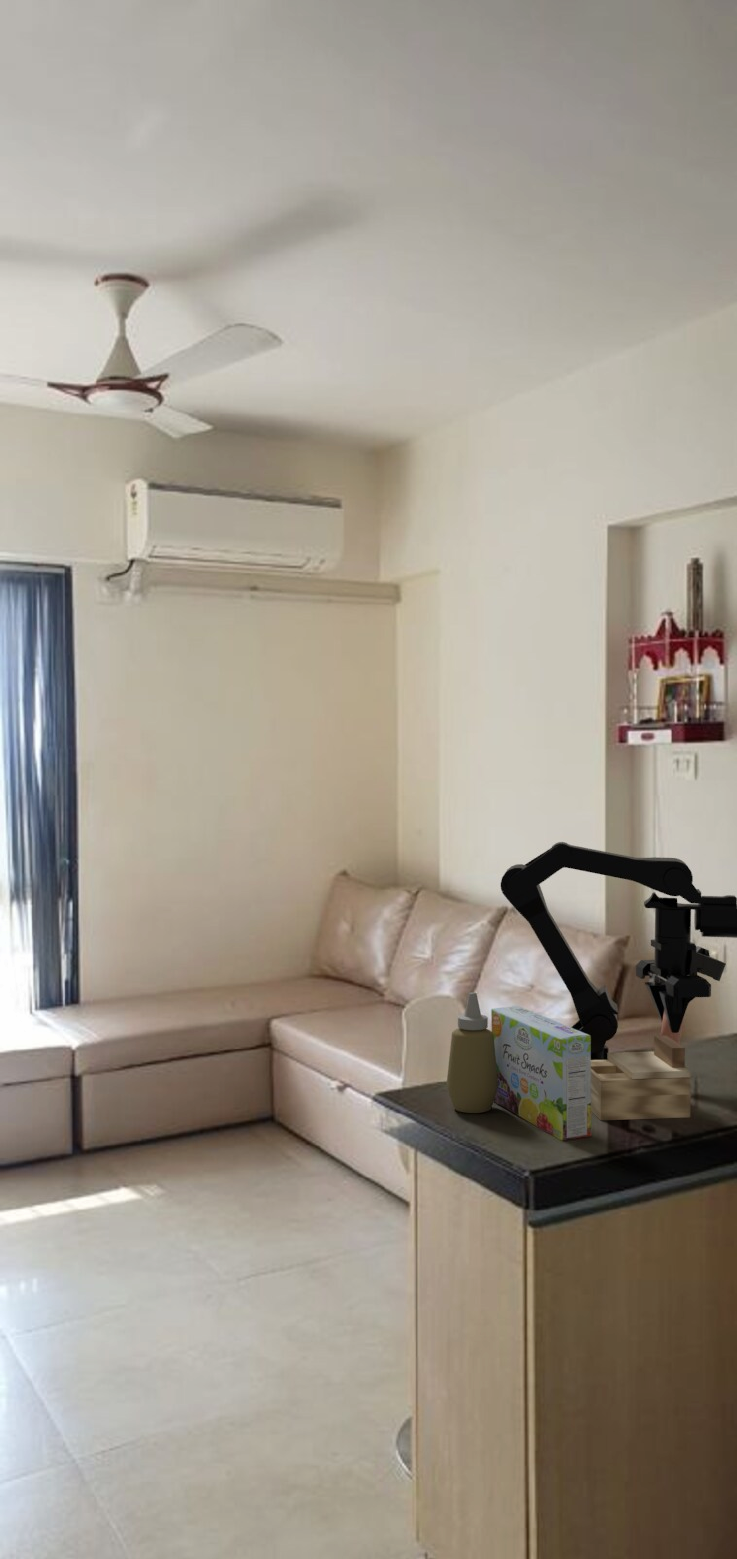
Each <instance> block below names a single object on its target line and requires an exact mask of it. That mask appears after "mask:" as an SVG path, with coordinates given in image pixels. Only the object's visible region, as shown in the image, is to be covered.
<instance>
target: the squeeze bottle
mask: <svg viewBox="0 0 737 1559" xmlns="http://www.w3.org/2000/svg"><path fill="white" fill-rule="evenodd" d="M467 997H468V998H467V1001H466V1002H467V1003H466V1005H465V1006H466V1007H465V1011H464V1014H459V1015H458V1016H457V1028H456V1029H454V1030H453V1031H452V1032H451V1038H450V1049H449V1056H448V1058H449V1059H448V1067H447V1068H448V1069H447V1075H446V1087H447V1091H448V1095H449V1098H450V1101H451V1105H452V1108H453V1109H454V1110H456V1111H457V1112H461V1113H465V1114H466V1113H467V1114H480V1113H486V1112H489V1111H490V1110H492V1107H493V1104H494V1103H495V1102H494V1099H495V1096H496V1093H497V1090H498V1078H497V1067H496V1056H495V1045H494V1035H493V1033H492V1030H490V1029H488V1027H489V1026H488V1024H489V1022H488V1021H489V1018H488V1016H487V1015H485V1014H482V1013H481V1009H480V1004H479V999H478V994H477V992H469V993H468V996H467Z"/></svg>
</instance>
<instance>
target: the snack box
mask: <svg viewBox="0 0 737 1559" xmlns="http://www.w3.org/2000/svg"><path fill="white" fill-rule="evenodd" d="M490 1012H491V1015H490V1016H491V1024H490V1025H491V1032H492V1033H493V1035H494V1045H495V1056H496V1067H497V1078H498V1090H497V1093H496V1096H495V1099H494V1102H493V1103H496V1104H497V1105H499V1106H501V1107H503V1109H504V1108H505V1109H506V1110H508V1111H510V1112H511V1113H513V1114H515V1115H517V1116H518V1117H520V1118H522V1119H523V1120H525V1121H527V1122H529V1123H530V1124H532V1125H533V1126H535V1127H537V1128H539V1129H540V1130H543V1131H544V1132H546V1133H548V1134H549V1135H551V1136H553V1137H555V1138H556V1139H558V1140H560V1141H562V1142H563V1141H564V1142H565V1141H568V1140H574V1139H579V1138H587V1137H591V1136H592V1122H591V1121H592V1111H591V1036H590V1035H588V1034H586V1033H583V1032H581V1031H578V1030H576V1029H573V1028H571V1027H572V1026H568V1025H566V1024H564V1023H561V1022H558V1021H555V1020H553V1019H550V1018H548V1017H546V1016H543V1015H542V1014H539V1013H537V1012H534V1011H531V1010H530V1009H527V1008H523V1007H521V1006H518V1005H513V1006H505V1007H495V1008H491V1010H490Z"/></svg>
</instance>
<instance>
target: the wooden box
mask: <svg viewBox="0 0 737 1559" xmlns="http://www.w3.org/2000/svg"><path fill="white" fill-rule="evenodd" d="M691 1086H692V1084H691V1077H685V1078H653V1079H631V1078H630V1077H629V1076H628V1075H626V1074H625V1073H624V1072H623V1071H622V1070H620V1069H619V1068H618V1067H617V1066H615V1065H614V1064H613V1063H612V1062H610V1061H609V1060H591V1113H592V1114H594V1115H595V1116H596V1117H597V1118H598V1119H599V1120H600V1121H617V1120H618V1121H620V1120H621V1121H623V1120H649V1119H650V1120H651V1119H653V1120H654V1119H672V1118H673V1119H674V1118H678V1119H681V1118H691V1089H692V1088H691Z"/></svg>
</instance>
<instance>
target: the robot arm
mask: <svg viewBox="0 0 737 1559" xmlns="http://www.w3.org/2000/svg"><path fill="white" fill-rule="evenodd" d="M564 868H568V869H570V870H571V869H573V870H577V871H583V872H586V873H587V872H588V873H590V874H591V873H592V874H596V875H597V874H598V875H602V876H607V877H612V878H617V879H623V880H628V881H633V882H635V883H637V884H640V885H641V886H645V887H647V888H649V889H651V890H655V891H657V892H659V893H661V894H664V895H667V896H670V897H659V895H658V894H656V892H652V893H651V895H650V896H649V897H648V898H647V899H646V900H644V901H643V906H644V908H646V909H655V910H654V912H655V913H654V939H650V947H652V948H654V959H641V960H640V961H639V962H637V964H636V965H635V977H637V978H639V979H643V980H644V979H646V976H648V978H649V980H648V981H647V982H644V986H645V987H646V988H647V991H648V993H649V996H650V997H651V1000H652V1002H653V1004H654V1007H655V1009H656V1012H657V1014H658V1016H659V1019H660V1021H661V1022H662V1021H663V1014H664V1009H665V1013H666V1016H667V1019H668V1023H669V1026H670V1029H671V1032H672V1033H678V1032H679V1030H680V1027H681V1024H682V1021H683V1022H684V1016H685V1014H686V1011H687V1009H688V1006H689V1004H690V1002H691V1001H693V1000H694V999H696V998H710V997H712V984H711V983H710V982H709V980H708V979H706V978H704V977H702V976H701V975H698V973H699V974H702V975H704V976H707V977H710V978H711V979H713V980H714V981H718V982H720V981H721V978H722V975H723V973H724V970H725V967H726V964H727V963H726V962H724V961H721V960H719V959H716V958H714V957H712V956H710V950H708V949H706V948H704V947H701V946H699V945H698V946H697V945H696V944H695V943H694V942H691V940H692V938H691V934H692V933H691V932H692V931H691V927H692V910H694V916H693V917H694V918H693V919H694V923H693V924H694V930H695V931H699V933H701V937H704V938H705V937H707V938H728V939H729V938H731V939H732V938H733V939H735V938H736V939H737V897H736V895H729V894H728V895H723V896H720V895H719V896H718V895H702V892H701V890H700V889H699V888H696V887H695V885H694V884H693V880H694V879H693V874H692V871H691V869H690V867H689V866H688V865H687V863H686V862H684V861H683V860H681V859H680V858H676V857H656V856H655V857H634V856H629V855H624V854H618V853H614V852H608V851H603V850H599V849H593V848H589V847H588V848H587V847H583V846H578V845H572V844H569V843H567V842H564V841H559V842H555V843H554V844H552V846H551V847H550V848H549V849H547V850H546V851H544V852H542V853H541V854H539V855H538V856H536V857H534V858H532V859H531V860H530V861H528V862H526V864H521V863H520V864H519V863H518V864H515V865H511V866H510V867H509V868H507V869H506V871H505V872H504V874H503V876H502V877H501V880H500V890H501V893H502V895H503V896H504V897H505V898H506V900H507V901H508V902H509V903H510V904H511V906H513V908H514V909H515V910H516V911H517V912H518V913H519V914H520V915H521V916H522V918H524V919H525V921H527V923H528V924H529V925H530V927H531V929H532V930H533V933H534V934H535V936H536V938H537V940H538V941H539V943H540V944H541V946H542V947H543V950H544V951H545V953H546V954H547V956H548V958H549V959H550V962H551V963H552V964H553V966H554V968H555V970H556V971H557V973H558V975H559V977H560V978H561V980H562V981H563V984H564V985H565V987H566V989H567V991H568V992H569V994H570V996H571V1000H572V1003H573V1005H574V1007H575V1011H576V1013H577V1014H576V1015H577V1017H578V1021H577V1022H576V1023H574V1024H573V1025H572V1026H570V1027H571V1028H573V1029H576V1030H578V1031H581V1032H583V1033H586V1034H588V1035H590V1036H591V1060H608V1059H607V1053H609V1047H608V1046H607V1045H606V1042H607V1041H610V1040H611V1039H613V1038H614V1036H615V1035H616V1034H617V1032H618V1027H619V1024H618V1023H619V1022H618V1014H619V1009H618V1003H616V1002H615V1001H614V1000H613V999H612V998H611V996H610V994H609V991H608V989H607V986H606V985H605V984H604V985H602V987H600V988H599V989H598V987H597V986H595V984H594V983H593V982H592V981H591V979H589V977H588V975H587V974H586V971H585V969H584V968H583V967H582V965H581V964H580V961H579V960H578V957H576V955H575V953H574V951H573V949H572V948H571V946H570V945H569V943H568V941H567V939H566V938H565V936H564V934H563V932H562V931H561V929H560V928H559V926H558V925H557V922H556V921H555V919H554V918H553V916H552V914H551V912H550V910H549V908H548V906H547V902H546V899H545V897H544V894H543V890H542V887H541V886H540V885H541V884H542V883H544V882H545V881H547V879H550V877H552V876H553V875H555V874H556V873H557V872H558V871H560V870H562V869H564ZM678 897H681V898H682V899H684V900H686V902H688V903H680V902H678ZM682 1025H683V1024H682Z"/></svg>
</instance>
